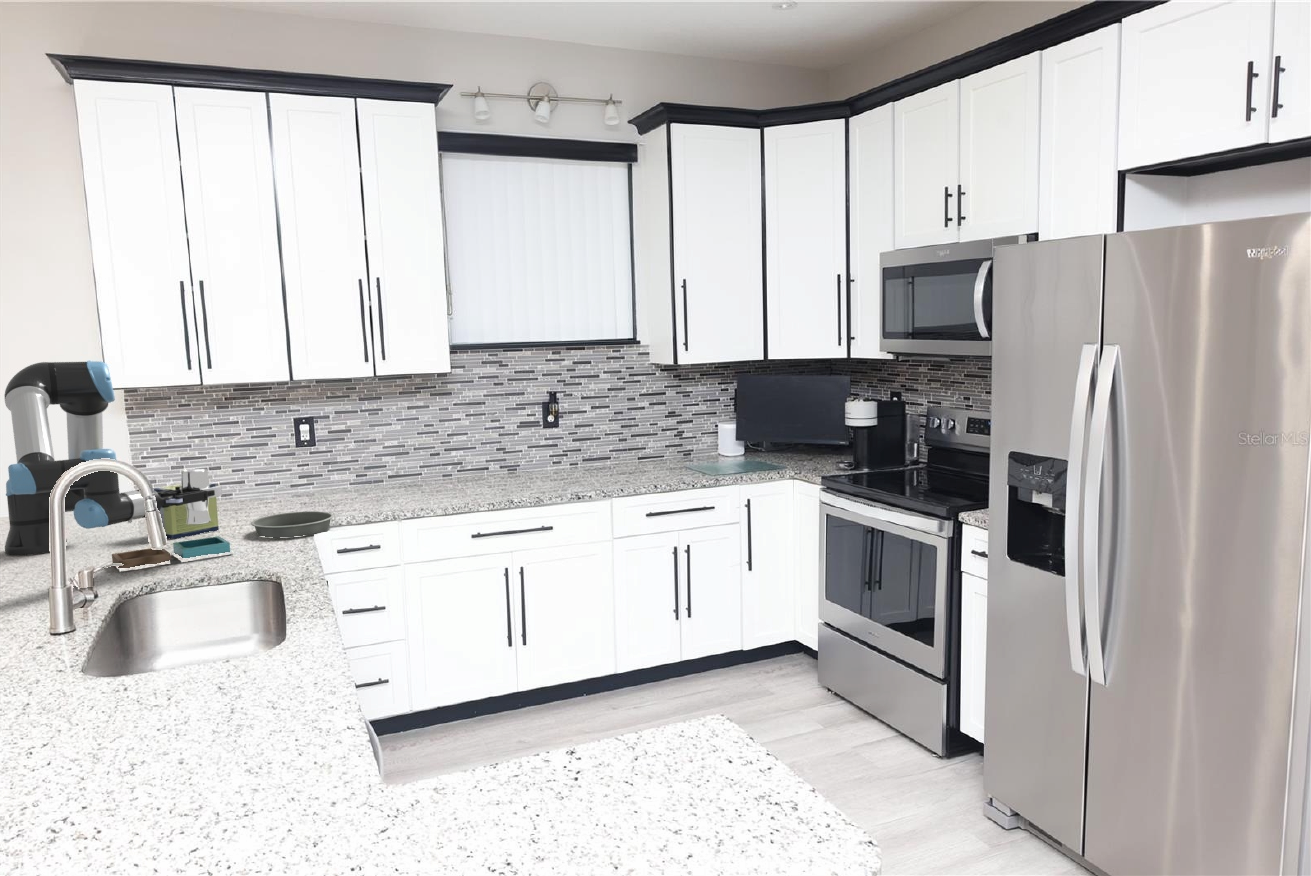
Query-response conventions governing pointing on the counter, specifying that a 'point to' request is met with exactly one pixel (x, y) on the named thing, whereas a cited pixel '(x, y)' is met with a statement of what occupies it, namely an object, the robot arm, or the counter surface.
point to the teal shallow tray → (201, 547)
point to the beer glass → (191, 483)
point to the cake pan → (292, 524)
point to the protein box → (177, 518)
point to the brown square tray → (140, 557)
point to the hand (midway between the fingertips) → (211, 490)
